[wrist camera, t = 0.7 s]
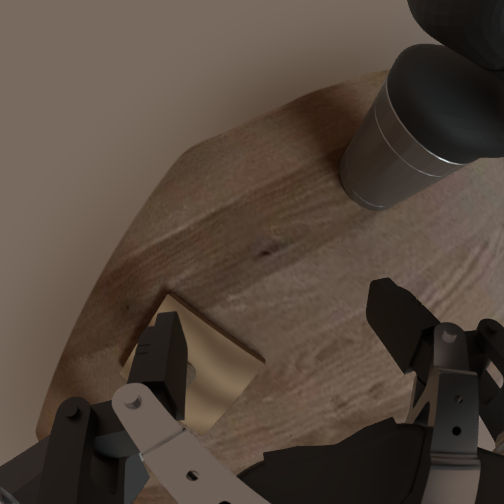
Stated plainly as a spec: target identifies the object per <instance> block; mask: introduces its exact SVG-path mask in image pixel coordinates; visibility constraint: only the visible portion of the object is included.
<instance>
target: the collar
mask: <svg viewBox="0 0 504 504" xmlns="http://www.w3.org/2000/svg"><path fill="white" fill-rule="evenodd" d="M50 435H51V434H50ZM50 435H49V436H47V437H46V438H44V439H43V440H41V441H40V442H38V443H37V444H35V445H34V446H32V447H30V448H29V449H27V450H26V451H25V452H23V453H21V454H20V455H18V456H16V457H15V458H13V459H12V460H10V461H9V462H7V463H5V464H4V465H2V466H1V467H0V502H1V503H2V504H12V503H14V504H37V503H38V495H39V488H40V482H41V476H42V470H43V465H44V460H45V456H46V451H47V447H48V443H49V439H50ZM149 478H150V476H149V474H148V472H147V470H146V468H145V466H144V464H143V462H142V460H141V458H140V456H139V454H138V453H137V454H133V455H129V456H126V462H125V483H124V504H132V503H133V502H134V500H135V499H136V497H137V496H138V494H139V493H140V491H141V490H142V488H143V487H144V485H145V484H146V482H147V481H148V479H149Z"/></svg>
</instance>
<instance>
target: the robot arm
mask: <svg viewBox="0 0 504 504" xmlns="http://www.w3.org/2000/svg"><path fill="white" fill-rule="evenodd" d="M407 1H408V5H409V8H410V11H411V13H412V15H413V17H414V19H415V20H416V21H417V23H418V24H419V25H420V27H421V28H422V29H423V30H424V31H425V32H426V33H427V34H429V35H430V36H431V37H433V38H434V39H436V40H437V41H439V42H440V43H441V44H443V45H445V46H443V45H435V44H418V45H413V46H410V47H408V48H407V49H405V50H404V51H403V52H401V53H400V55H399V56H398V58H397V59H396V60H395V62H394V64H393V66H392V68H391V70H390V72H389V74H388V76H387V78H386V80H385V82H384V83H383V85H382V87H381V89H380V91H379V93H378V95H377V97H376V98H375V100H374V102H373V104H372V106H371V107H370V109H369V111H368V113H367V115H366V116H365V118H364V120H363V122H362V123H361V125H360V127H359V129H358V130H357V132H356V134H355V136H354V137H353V139H352V141H351V142H350V144H349V146H348V148H347V149H346V151H345V153H344V155H343V157H342V159H341V161H340V168H339V171H340V178H341V182H342V185H343V187H344V189H345V191H346V192H347V193H348V195H349V196H350V197H351V198H352V199H353V200H354V201H355V202H356V203H358V204H359V205H361V206H363V207H365V208H368V209H371V210H385V209H388V208H390V207H392V206H394V205H396V204H398V203H400V202H402V201H404V200H406V199H407V198H409V197H411V196H413V195H415V194H417V193H418V192H420V191H422V190H424V189H426V188H428V187H429V186H431V185H433V184H435V183H437V182H438V181H440V180H442V179H444V178H446V177H447V176H449V175H451V174H453V173H454V172H456V171H458V170H459V169H461V168H463V167H465V166H466V165H468V164H470V163H472V162H473V161H475V160H477V159H479V158H500V157H504V0H407ZM366 317H367V321H368V323H369V325H370V326H371V327H372V329H373V330H374V331H375V333H376V334H377V336H378V337H379V339H380V340H381V341H382V343H383V344H384V346H385V347H386V348H387V350H388V351H389V353H390V354H391V356H392V357H393V359H394V360H395V362H396V363H397V364H398V366H399V367H400V369H401V370H402V372H403V373H404V375H405V374H407V373H410V372H412V371H415V372H416V376H415V378H414V383H413V390H412V396H411V402H410V408H409V413H408V416H407V419H406V421H405V423H401V424H396V422H395V420H394V418H393V417H390V418H388V419H385V420H383V421H380V422H378V423H375V424H372V425H370V426H367V427H364V428H363V429H361V430H360V431H358V432H356V433H355V434H353V435H351V436H350V437H348V438H346V439H345V440H343V441H341V442H339V443H337V444H335V445H324V446H296V447H292V448H287V449H282V450H276V451H270V452H264V453H263V456H264V460H263V461H261V462H258V463H256V464H254V465H252V466H250V467H248V468H247V469H245V470H244V471H242V472H241V473H240V474H238V475H237V476H235V475H234V474H233V473H232V472H230V471H229V470H228V469H227V468H226V467H225V466H224V465H223V464H221V463H220V462H219V461H218V460H217V459H216V458H215V457H214V456H213V455H212V454H211V453H210V452H209V451H208V450H207V449H206V448H205V447H204V446H203V445H202V444H201V443H200V442H199V441H198V440H197V439H196V438H195V437H194V436H193V435H192V434H191V433H190V432H189V431H188V430H186V429H185V428H184V429H183V428H182V427H181V426H180V425H179V424H178V423H177V422H176V421H181V420H185V398H186V378H187V362H188V347H187V342H186V338H185V335H184V332H183V328H182V325H181V322H180V319H179V315H178V313H177V311H171V312H162V313H158V314H157V317H156V321H155V325H154V326H147V327H146V329H145V330H144V331H143V332H142V333H141V335H140V337H139V340H138V344H137V347H136V351H135V355H134V358H133V362H132V366H131V369H130V373H129V377H128V381H127V385H124V386H122V387H121V388H119V389H118V390H117V391H116V392H115V394H114V396H113V398H112V400H110V401H107V402H103V403H99V404H94V405H89V403H88V402H87V401H86V400H85V399H83V398H81V397H71V398H69V399H67V400H65V401H64V402H63V403H62V404H61V405H60V406H59V408H58V410H57V413H56V416H55V420H54V423H53V427H52V431H51V435H50V439H49V443H48V447H47V451H46V456H45V460H44V465H43V470H42V476H41V482H40V488H39V495H38V503H37V504H124V483H125V462H126V456H129V455H133V454H137V453H142V454H141V456H142V458H143V459H144V461H145V462H146V464H147V465H148V466H149V468H150V469H151V470H152V472H153V473H154V474H155V475H156V477H157V478H158V479H159V481H160V482H161V483H162V484H163V485H164V487H165V488H166V489H167V490H168V491H169V493H170V494H171V495H172V496H173V497H174V498H175V499H176V501H177V502H178V503H179V504H504V382H503V386H502V387H501V389H500V388H499V386H498V385H497V384H496V382H495V381H494V380H493V378H492V377H491V376H490V374H489V373H488V372H487V370H486V369H487V367H488V366H489V364H490V362H491V361H492V362H493V364H494V365H495V366H496V367H497V369H498V370H499V371H500V373H501V374H502V376H503V379H504V327H503V326H502V325H501V324H500V323H498V322H497V321H495V320H493V319H483V320H481V321H480V322H479V324H478V327H477V329H476V330H473V331H465V332H464V331H463V330H462V329H461V328H460V327H459V326H457V325H456V324H453V323H448V322H444V323H440V321H439V320H438V319H437V318H436V317H435V316H434V315H433V314H432V313H431V312H430V311H429V310H428V309H427V308H426V307H425V306H424V305H422V303H421V302H420V301H419V300H418V299H417V300H416V297H415V296H414V295H413V294H412V293H411V292H409V291H408V290H406V289H404V288H402V287H400V286H397V285H396V284H395V283H394V282H393V281H392V280H391V279H390V278H382V279H378V280H373V281H372V282H371V283H370V288H369V294H368V301H367V307H366ZM479 415H480V417H481V419H482V420H483V422H484V424H485V425H486V427H487V429H488V431H489V432H490V434H491V436H492V438H493V439H494V441H495V443H496V444H495V446H496V448H495V449H494V450H493V452H491V451H488V450H485V449H482V448H479V447H477V444H478V423H479Z"/></svg>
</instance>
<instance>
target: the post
mask: <svg viewBox="0 0 504 504" xmlns="http://www.w3.org/2000/svg"><path fill="white" fill-rule="evenodd" d="M171 311H177V313H178V315H179V319H180V322H181V325H182V328H183V332H184V335H185V338H186V342H187V347H188V362H187V378H186V398H185V420H181V422H182V423H184V424H185V425H187V426H188V427H190V428H191V429H193V430H195V431H196V432H198V433H199V434H201V435H202V436H203V435H204V434H205V433H206V432H207V431H208V430H209V429H210V428H211V427H212V426H213V424H214V423H215V422H216V421H217V420H218V419H219V418H220V417H221V416H222V414H223V413H224V412H225V411H226V410H227V409H228V408H229V407H230V405H231V404H232V403H233V402H234V401H235V400H236V398H237V397H238V396H239V395H240V394H241V393H242V391H243V390H244V389H245V388H246V387H247V385H248V384H249V383H250V382H251V381H252V379H253V378H254V377H255V376H256V375H257V373H258V372H259V371H260V370H261V368H262V367H263V366H264V365H265V359H263V358H262V357H260V356H259V355H257V354H256V353H254V352H253V351H251V350H250V349H248V348H247V347H245V346H244V345H242V344H241V343H239V342H238V341H237V340H235V339H234V338H232V337H231V336H229V335H228V334H227V333H225V332H224V331H222V330H221V329H220V328H218V327H217V326H215V325H214V324H213V323H211V322H210V321H209V320H207V319H206V318H205V317H203V316H202V315H201V314H199V313H198V312H197V311H195V310H194V309H193V308H191V307H190V306H189V305H187V304H186V303H185V302H183V301H182V300H181V299H180V298H178V297H177V296H176V295H174V294H173V293H170V294H167V296H166V298H165V299H164V301H163V302H162V304H161V305H160V307H159V309H158V310H157V312H156V313H155V315H154V317H153V318H152V320H151V321H150V323H149V325H148V326H154V325H155V321H156V317H157V314H158V313H162V312H171ZM137 344H138V343H137ZM136 347H137V345H136V346H135V348H134V350H133V351H132V353H131V355H130V356H129V358H128V360H127V361H126V363H125V365H124V367H123V368H122V370H121V372H120V374H121V375H122V376H123V377H124V378H125V379H127V380H128V377H129V373H130V369H131V366H132V362H133V358H134V355H135V351H136ZM12 504H14V503H12Z"/></svg>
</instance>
